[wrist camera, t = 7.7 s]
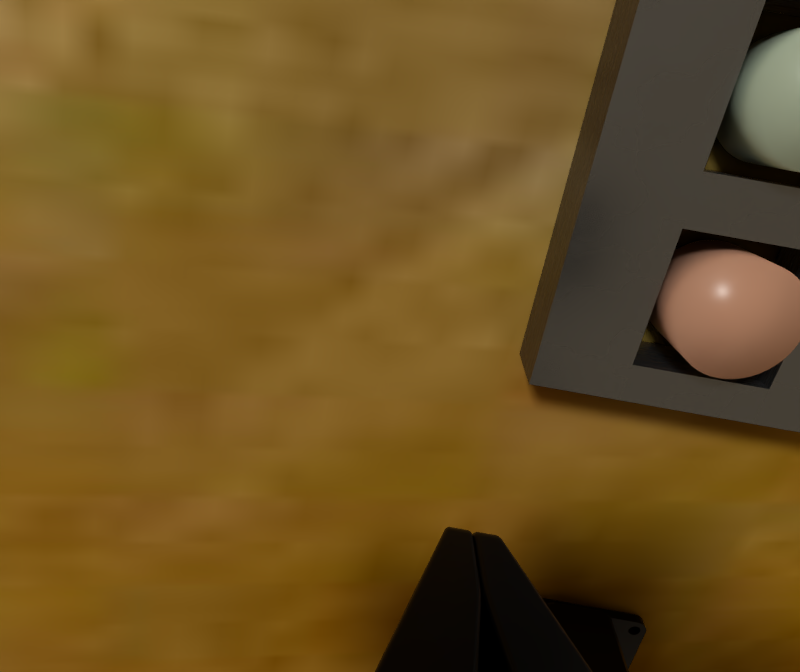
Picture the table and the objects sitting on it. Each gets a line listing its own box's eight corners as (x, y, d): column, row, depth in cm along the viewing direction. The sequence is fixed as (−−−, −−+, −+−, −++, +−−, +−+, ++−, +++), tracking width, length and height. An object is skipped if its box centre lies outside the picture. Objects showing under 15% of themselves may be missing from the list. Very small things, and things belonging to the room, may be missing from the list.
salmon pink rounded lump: (732, 350, 19) (777, 388, 17) (630, 332, 19) (659, 367, 17) (776, 250, 18) (833, 274, 15) (665, 230, 18) (704, 251, 15)
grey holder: (1160, -300, 13) (1310, -384, 11) (799, 403, 20) (843, 439, 18) (719, -377, 13) (776, -477, 11) (519, 353, 20) (529, 384, 18)
